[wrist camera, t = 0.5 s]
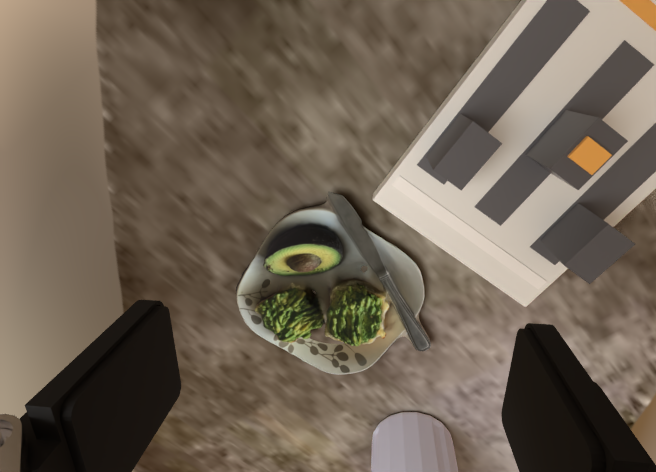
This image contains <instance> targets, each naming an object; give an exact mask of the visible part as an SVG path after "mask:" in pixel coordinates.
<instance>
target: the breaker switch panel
mask: <svg viewBox="0 0 656 472" xmlns="http://www.w3.org/2000/svg"><path fill="white" fill-rule="evenodd" d="M565 110H568V111H572V112H577V113H581V114H586V115H590V116H594V117H599V118H600V119H601V120H603V121H604V122H605V123H606V124H608V125H609V126H610V127H611V128H613V129H614V130H615V131H616V132H618V133H619V134H620V135H621V136H623V137H624V138H625V139H626V140H628V142H627V143H626V144H625V145H624V146H623V147H622V148H621V149H620V150H619V151H618V152H617V153H616V154H615V155H614V156H613V157H612V158H611V159H610V160H609V161H608V162H607V163H606V164H605V165H604V166H603V167H602V168H601V169H600V170H599V171H598V172H596V173H595V174H594V175H593V176H592V177H591V178H590V179H589V180H588V181H587V182H586V183H585V184H584V185H583V186H582V187H581V188H580V189H579V190H577V189H575V188H574V187H572V186H570V185H569V184H567V183H566V182H564V181H562V180H561V179H559V178H558V177H556V176H554V175H553V174H551V173H550V172H548V171H547V170H546V169H544V168H543V167H542V166H540V165H539V164H538V163H536V162H535V161H534V160H533V159H531V158H530V157H529V156H527V155H526V154H527V152H528V151H529V150H530V149H531V148H532V147H533V146H534V145H535V144H536V143H537V141H538V140H539V139H540V138H541V137H542V136H543V135H544V134H545V133H546V131H547V130H548V129H549V128H550V127H551V126H552V125H553V124H554V123H555V122H556V120H557V119H558V118H559V117H560V116H561V115H562V114H563V113H564V112H565ZM654 189H656V0H521V1H520V3H519V4H518V5H517V7H516V8H515V9H514V11H513V12H512V13H511V14H510V16H509V17H508V18H507V20H506V21H505V22H504V24H503V25H502V26H501V27H500V29H499V30H498V31H497V33H496V34H495V35H494V37H493V38H492V39H491V40H490V42H489V43H488V44H487V46H486V47H485V48H484V50H483V51H482V52H481V54H480V55H479V56H478V57H477V59H476V60H475V61H474V63H473V64H472V65H471V67H470V68H469V69H468V70H467V72H466V73H465V74H464V76H463V77H462V78H461V80H460V81H459V82H458V84H457V85H456V86H455V87H454V89H453V90H452V91H451V93H450V94H449V95H448V97H447V98H446V99H445V100H444V102H443V103H442V104H441V106H440V107H439V108H438V110H437V111H436V112H435V113H434V115H433V116H432V117H431V119H430V120H429V121H428V123H427V124H426V125H425V127H424V128H423V129H422V130H421V132H420V133H419V134H418V136H417V137H416V138H415V140H414V141H413V142H412V143H411V145H410V146H409V147H408V149H407V150H406V151H405V153H404V154H403V155H402V157H401V158H400V159H399V160H398V162H397V163H396V164H395V166H394V167H393V168H392V170H391V171H390V172H389V173H388V175H387V176H386V177H385V179H384V180H383V181H382V183H381V184H380V185H379V186H378V188H377V189H376V190H375V192H374V193H373V201H375V202H376V203H378V204H379V205H380V206H382V207H383V208H385V209H386V210H388V211H389V212H390V213H392V214H393V215H395V216H396V217H398V218H399V219H400V220H402V221H403V222H405V223H406V224H408V225H409V226H410V227H412V228H413V229H415V230H416V231H418V232H419V233H420V234H422V235H423V236H425V237H426V238H427V239H429V240H430V241H432V242H433V243H435V244H436V245H437V246H439V247H440V248H442V249H443V250H445V251H446V252H447V253H449V254H450V255H452V256H453V257H455V258H456V259H457V260H459V261H460V262H462V263H463V264H465V265H466V266H467V267H469V268H470V269H472V270H473V271H474V272H476V273H477V274H479V275H480V276H482V277H483V278H484V279H486V280H487V281H489V282H490V283H492V284H493V285H494V286H496V287H497V288H499V289H500V290H502V291H503V292H504V293H506V294H507V295H509V296H510V297H512V298H513V299H514V300H516V301H517V302H519V303H520V304H521V305H523V306H524V307H526V306H527V305H529V304H530V303H531V302H532V301H533V300H534V299H535V298H536V297H537V296H538V295H540V294H541V293H542V292H543V291H544V290H545V289H546V288H547V287H548V286H549V285H550V284H552V283H553V282H554V281H555V280H556V279H557V278H558V277H559V276H560V275H561V274H563V273H564V272H565V271H566V270H567V269H570V270H571V271H572V272H574V273H575V274H576V275H578V276H579V277H581V278H582V279H583V280H585V281H586V282H587V283H589V284H590V283H591V282H593V281H594V280H595V279H596V278H597V277H598V276H599V275H601V274H602V273H603V272H604V271H605V270H606V269H607V268H609V267H610V266H611V265H612V264H613V263H614V262H616V261H617V260H618V259H619V258H620V257H621V256H622V255H624V254H625V253H626V252H627V251H628V250H629V249H630V248H632V247H633V246H634V245H635V243H633V242H632V241H631V240H629V239H628V238H627V237H625V236H624V235H623V234H621V233H620V232H619V231H617V230H616V229H615V228H613V227H614V226H615V225H616V224H617V223H618V222H619V221H621V220H622V219H623V218H624V217H625V216H626V215H627V214H628V213H629V212H630V211H631V210H633V209H634V208H635V207H636V206H637V205H638V204H639V203H640V202H641V201H642V200H644V199H645V198H646V197H647V196H648V195H649V194H650V193H651V192H652V191H653V190H654Z"/></svg>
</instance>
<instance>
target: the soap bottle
mask: <svg viewBox="0 0 656 472" xmlns="http://www.w3.org/2000/svg"><path fill="white" fill-rule="evenodd" d="M371 472H458V466H457V461H456V456H455V450H454V445H453V441H452V437H451V434H450V432H449V431H448V430H447V428H446V427H445V426H444V425H443V424H442V422H440V421H438V420H437V419H435V418H433V417H432V416H430V415H426V414H422V413H419V412H401V413H397V414H394V415H391V416H389V417H387V418H386V419H384V420H383V421H381V422H380V423H379V425H378V426H377V428H376V429H375V431H374V432H373V438H372V457H371Z"/></svg>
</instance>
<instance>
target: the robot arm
mask: <svg viewBox="0 0 656 472" xmlns="http://www.w3.org/2000/svg"><path fill="white" fill-rule="evenodd" d="M180 390H181V380H180V374H179V368H178V362H177V356H176V350H175V344H174V338H173V332H172V325H171V319H170V313H169V309H168V308H167V307H165V306H164V305H163V303H162V302H160V301H152V300H138V301H137V302H135V303H134V304H133V305H132V306H131V307H130V308H129V309H128V310H127V311H126V312H125V313H124V314H123V315H122V316H120V317H119V318H118V319H117V320H116V321H115V322H114V323H113V324H112V325H111V326H110V327H109V328H107V329H106V330H105V331H104V332H103V333H102V334H101V335H100V336H99V337H98V338H97V339H96V340H95V341H94V342H92V343H91V344H90V345H89V346H88V347H87V348H86V349H85V350H84V351H83V352H82V353H81V354H79V355H78V356H77V357H76V358H75V359H74V360H73V361H72V362H71V363H70V364H69V365H68V366H67V367H65V368H64V370H62V371H61V372H60V373H59V374H58V375H57V376H56V377H55V378H54V379H53V380H52V381H50V382H49V383H48V384H47V385H46V386H45V387H44V388H43V389H42V390H41V391H40V392H38V393H37V394H36V395H35V396H34V397H33V398H32V399H31V400H30V401H29V402H28V403H27V404H26V405H25V407H26V410H27V413H25V414H24V415H23V416H22V417H21V418H20V419H19V418H17V417H16V416H13V415H9V414H0V472H132V470H133V469H134V467H135V466H136V464H137V462H138V461H139V459H140V458H141V456H142V454H143V453H144V451H145V450H146V448H147V446H148V445H149V443H150V442H151V440H152V439H153V437H154V435H155V434H156V432H157V431H158V429H159V427H160V426H161V424H162V423H163V421H164V419H165V418H166V416H167V415H168V413H169V411H170V410H171V408H172V407H173V405H174V403H175V402H176V400H177V399H178V397H179V394H180ZM502 423H503V427H504V430H505V432H506V435H507V438H508V441H509V444H510V446H511V449H512V452H513V455H514V458H515V460H516V463H517V466H518V469H519V472H656V465H655V463H654V462H653V461H652V459H651V458H650V456H649V455H648V454H647V452H646V451H645V449H644V448H643V447H642V445H641V444H640V442H639V441H638V440H637V438H636V437H635V435H634V434H633V433H632V431H631V430H630V428H629V427H628V426H627V424H626V423H625V421H624V420H623V418H622V417H621V416H620V414H619V413H618V411H617V410H616V409H615V407H614V406H613V404H612V403H611V402H610V400H609V399H608V397H607V396H606V395H605V393H604V392H603V390H602V389H601V388H600V387H599V386H598V385H597V383H595V382H593V381H592V379H591V378H590V376H589V375H588V374H587V372H586V371H585V369H584V368H583V366H582V365H581V364H580V362H579V361H578V359H577V358H576V356H575V355H574V354H573V352H572V351H571V349H570V348H569V347H568V345H567V344H566V342H565V341H564V339H563V338H562V337H561V335H560V334H559V332H558V331H557V329H556V328H555V327H554V326H553V325H547V324H531V323H528V324H527V325H526V326H525V329H519V330H518V332H517V336H516V341H515V346H514V351H513V357H512V362H511V367H510V372H509V377H508V382H507V387H506V392H505V397H504V402H503V407H502Z"/></svg>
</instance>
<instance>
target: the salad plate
mask: <svg viewBox="0 0 656 472" xmlns="http://www.w3.org/2000/svg"><path fill="white" fill-rule="evenodd" d="M326 198H327V202H326V203H324V204H322V205H319V206H313V207H307V208H302V209H299V210H296V211H294V212H292V213H289V214H287V215H286V216H284V217H283V218H282V219H281V220H280V221H279V222H278V223H277V224H276V225H275V226H274V227H273V228H272V230H271V231H270V233H269V234H268V236H267V237H266V239H265V240H264V242H263V243H262V245H261V247H260V249H259V250H258V252H257V253H256V255H255V257H254V258H253V260H252V262H251V263H250V264H249V265H248V267H247V268H246V269H245V271H244V272H243V274H242V277H241V279H240V281H239V283H238V285H237V287H236V299H237V305H238V308H239V310H240V313H241V315H242V317H243V319H244V321H245V323H246V324H247V325H248V327H249V328H250V329H251V330H253V331H254V332H255V333H256V334H257V335H259V336H261V337H262V338H264V339H266V340H267V341H269V342H271V343H273V344H275V345H276V346H278V347H280V348H282V349H284V350H286V351H287V352H289V353H291V354H293V355H295V356H297V357H298V358H300V359H301V360H302V361H303V362H306V363H308V364H310V365H312V366H314V367H316V368H318V369H320V370H322V371H324V372H327V373H330V374H350V373H356V372H360V371H363V370H366V369H368V368H369V367H370V366H372V365H373V364H374V363H375V362H376V361H377V360H378V359H379V358H380V357H381V356H382V355H383V354H384V353H385V352H386V351H387V349H388V348H389V347H390V346H391V345H392V343H393V342H394V341H396V340H397V339H398V338H400V337H406V338H407V339H408V340H409V341H410V342H411V343H412V345H413V347H414V348H415V349H416V350H418V351H426V350H428V349H429V348H430V346H431V341H430V338H429V337H428V335H427V333H426V331H425V330H424V328H423V326H422V325H421V322H420V320H419V313H420V310H421V307H422V305H423V301H424V284H423V279H422V275H421V271H420V269H419V268H418V266H417V265H416V263H415V262H414V261H413V260H412V259H411V258H410V257H409V256H408V255H406V254H405V253H404V252H403V251H401V250H400V249H399V248H397V247H396V246H395V245H393V244H391V243H389V242H388V241H386V240H384V239H383V238H381V237H380V236H378V235H376V234H374V233H373V232H371V231H369V230H368V229H367V228H365V227H364V226H363V225H362V220H361V218H360V217H359V216H358V214H357V212H356V211H355V209H354V208H353V207H352V206H351V204H350V203H349V202H348V201H347V200H346V199H345V197H344V196H343V195H339V194H335V193H332V192H329V193H328V196H327V197H326ZM364 265H365V266H367V268H368V270H367V271H366V272H365V273H363V272H362V271H361V267H362V266H364ZM270 282H271V283H270ZM312 290H314V291H315V292H316V294H314V293H313V292H312ZM325 322H326V326H325V336H327V337H331V338H332V339H334V340H338V341H341V342H344V343H345V344H327V343H322V342H318V341H314V340H312V339H310V336H311V330H312V329H315V328H316V329H318V328H321V327H322V325H323V323H325Z"/></svg>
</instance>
